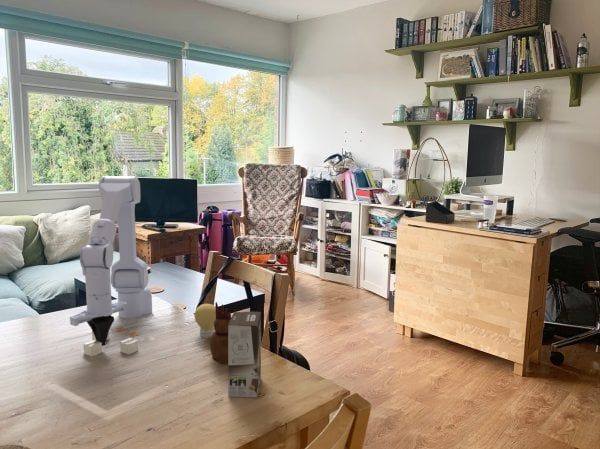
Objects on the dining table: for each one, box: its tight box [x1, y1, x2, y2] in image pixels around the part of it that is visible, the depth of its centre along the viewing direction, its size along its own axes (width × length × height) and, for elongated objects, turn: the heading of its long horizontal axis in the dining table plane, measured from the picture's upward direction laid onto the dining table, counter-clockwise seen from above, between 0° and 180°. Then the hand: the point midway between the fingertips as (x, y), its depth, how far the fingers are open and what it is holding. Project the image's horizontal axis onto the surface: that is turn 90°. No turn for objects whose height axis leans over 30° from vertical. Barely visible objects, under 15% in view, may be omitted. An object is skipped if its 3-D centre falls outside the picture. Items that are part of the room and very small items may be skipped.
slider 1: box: [91, 330, 110, 341], centre depth 132 cm, size 3×3×3 cm
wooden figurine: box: [209, 301, 232, 364], centre depth 122 cm, size 7×6×15 cm
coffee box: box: [227, 311, 262, 399], centre depth 109 cm, size 9×6×16 cm
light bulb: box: [194, 303, 216, 339], centre depth 136 cm, size 6×6×10 cm
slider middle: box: [83, 340, 103, 357], centre depth 123 cm, size 3×3×3 cm
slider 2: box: [119, 337, 139, 355], centre depth 125 cm, size 3×3×3 cm
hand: (101, 344), depth 125 cm, fingers closed
